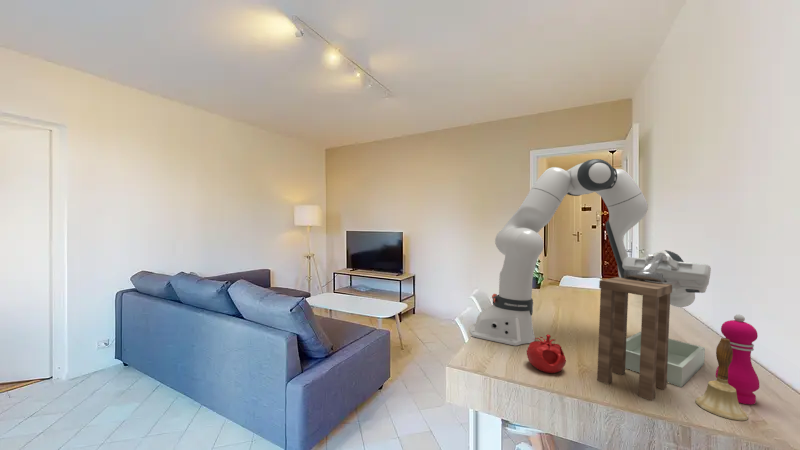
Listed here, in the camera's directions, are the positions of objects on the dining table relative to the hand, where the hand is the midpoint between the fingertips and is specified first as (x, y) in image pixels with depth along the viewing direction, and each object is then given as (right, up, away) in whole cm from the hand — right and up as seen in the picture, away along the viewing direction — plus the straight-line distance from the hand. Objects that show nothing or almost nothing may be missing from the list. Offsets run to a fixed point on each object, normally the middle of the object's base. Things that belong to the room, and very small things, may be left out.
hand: (657, 257), depth 91 cm
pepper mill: (+7, -32, -15) cm, 36 cm away
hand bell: (-2, -32, -20) cm, 38 cm away
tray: (+3, -32, +3) cm, 32 cm away
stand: (-15, -31, -10) cm, 36 cm away
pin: (-3, -3, -3) cm, 5 cm away
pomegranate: (-33, -31, -2) cm, 46 cm away
